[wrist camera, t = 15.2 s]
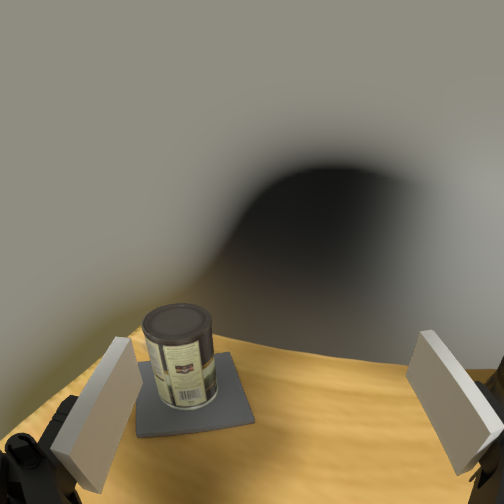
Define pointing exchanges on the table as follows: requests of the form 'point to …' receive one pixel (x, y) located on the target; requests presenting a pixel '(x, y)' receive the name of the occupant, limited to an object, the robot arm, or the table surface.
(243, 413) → the rubber mat
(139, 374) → the robot arm
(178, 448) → the table surface
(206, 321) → the coffee can
